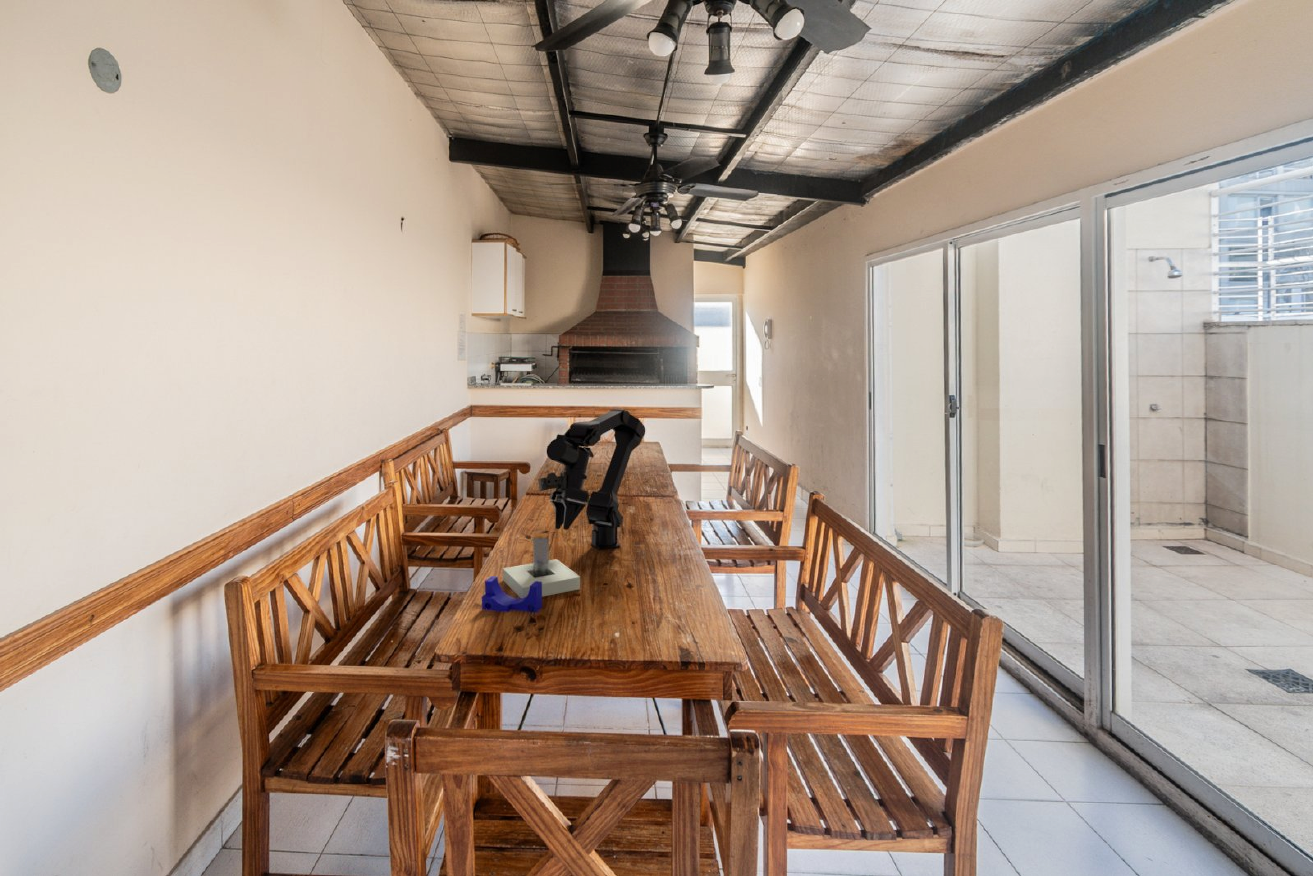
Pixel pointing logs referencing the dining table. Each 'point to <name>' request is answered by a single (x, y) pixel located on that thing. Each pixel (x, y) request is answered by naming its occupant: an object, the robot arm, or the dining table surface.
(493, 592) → the blue cradle bracket
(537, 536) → the steel pin
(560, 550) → the dining table surface
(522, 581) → the block
